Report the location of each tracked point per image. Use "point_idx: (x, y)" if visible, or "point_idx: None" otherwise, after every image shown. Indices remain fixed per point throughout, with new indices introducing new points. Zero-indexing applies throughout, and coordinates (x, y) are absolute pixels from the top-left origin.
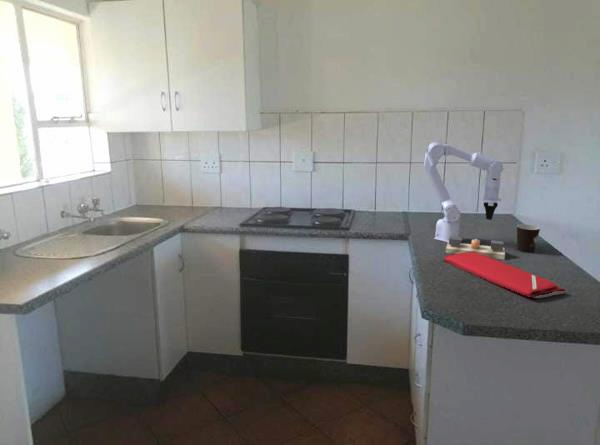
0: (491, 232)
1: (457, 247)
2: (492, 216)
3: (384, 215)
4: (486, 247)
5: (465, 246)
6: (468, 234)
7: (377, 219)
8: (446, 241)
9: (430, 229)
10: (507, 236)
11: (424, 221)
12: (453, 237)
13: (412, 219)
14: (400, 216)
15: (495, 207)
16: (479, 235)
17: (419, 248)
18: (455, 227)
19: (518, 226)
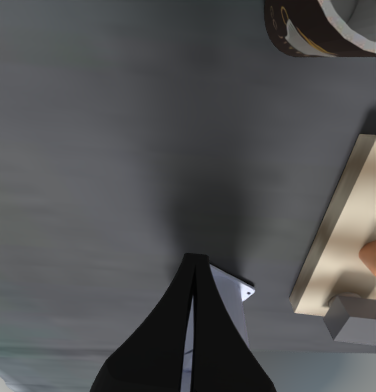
0: (23, 158)
1: (366, 297)
2: (210, 272)
3: (36, 375)
4: (369, 214)
5: (353, 277)
6: (109, 239)
7: (81, 385)
8: (242, 300)
9: (108, 318)
10: (48, 89)
11: (29, 324)
12: (354, 334)
13: (29, 341)
14: (20, 356)
15: (262, 373)
16: (103, 206)
17: (318, 346)
18: (244, 335)
19: (346, 33)
